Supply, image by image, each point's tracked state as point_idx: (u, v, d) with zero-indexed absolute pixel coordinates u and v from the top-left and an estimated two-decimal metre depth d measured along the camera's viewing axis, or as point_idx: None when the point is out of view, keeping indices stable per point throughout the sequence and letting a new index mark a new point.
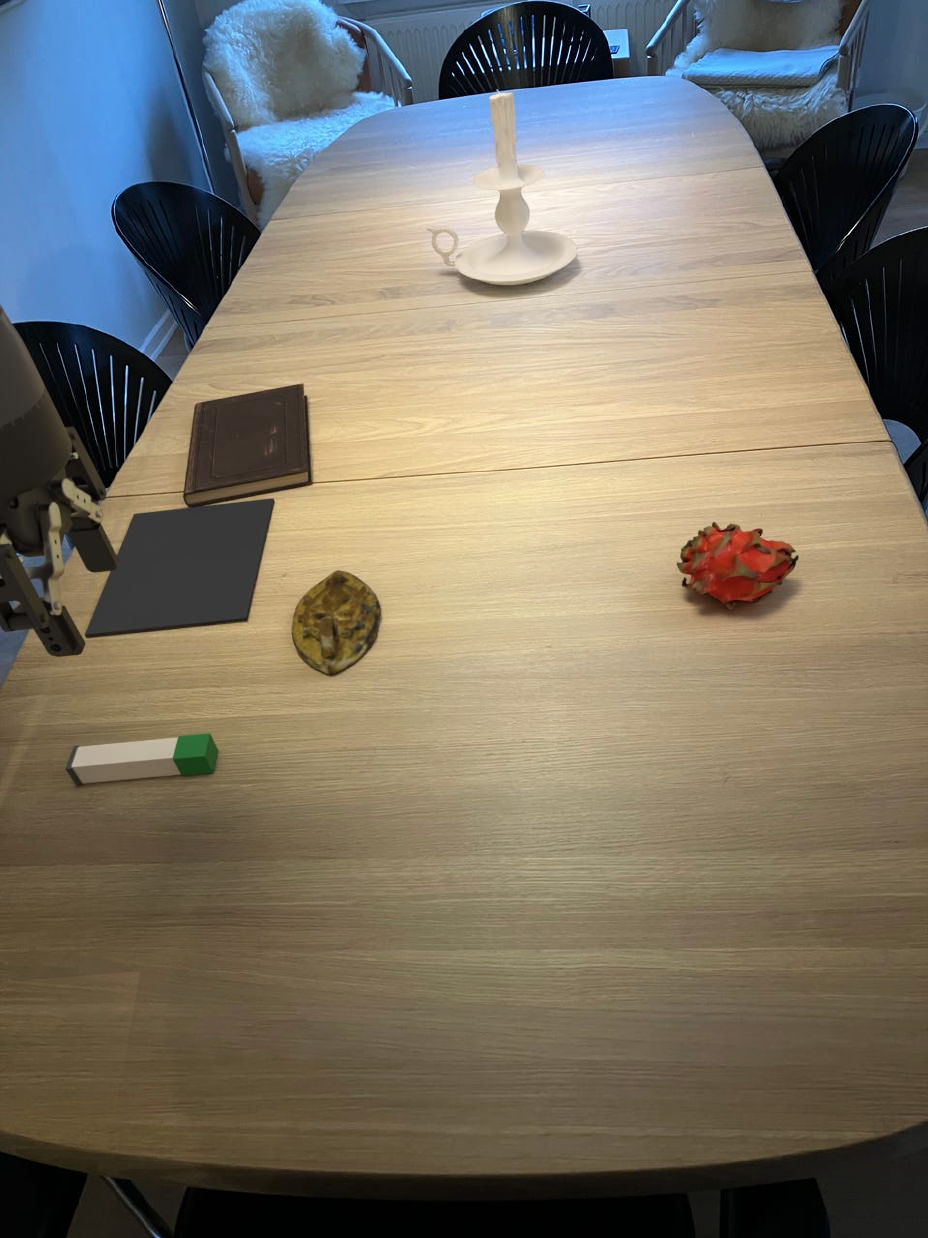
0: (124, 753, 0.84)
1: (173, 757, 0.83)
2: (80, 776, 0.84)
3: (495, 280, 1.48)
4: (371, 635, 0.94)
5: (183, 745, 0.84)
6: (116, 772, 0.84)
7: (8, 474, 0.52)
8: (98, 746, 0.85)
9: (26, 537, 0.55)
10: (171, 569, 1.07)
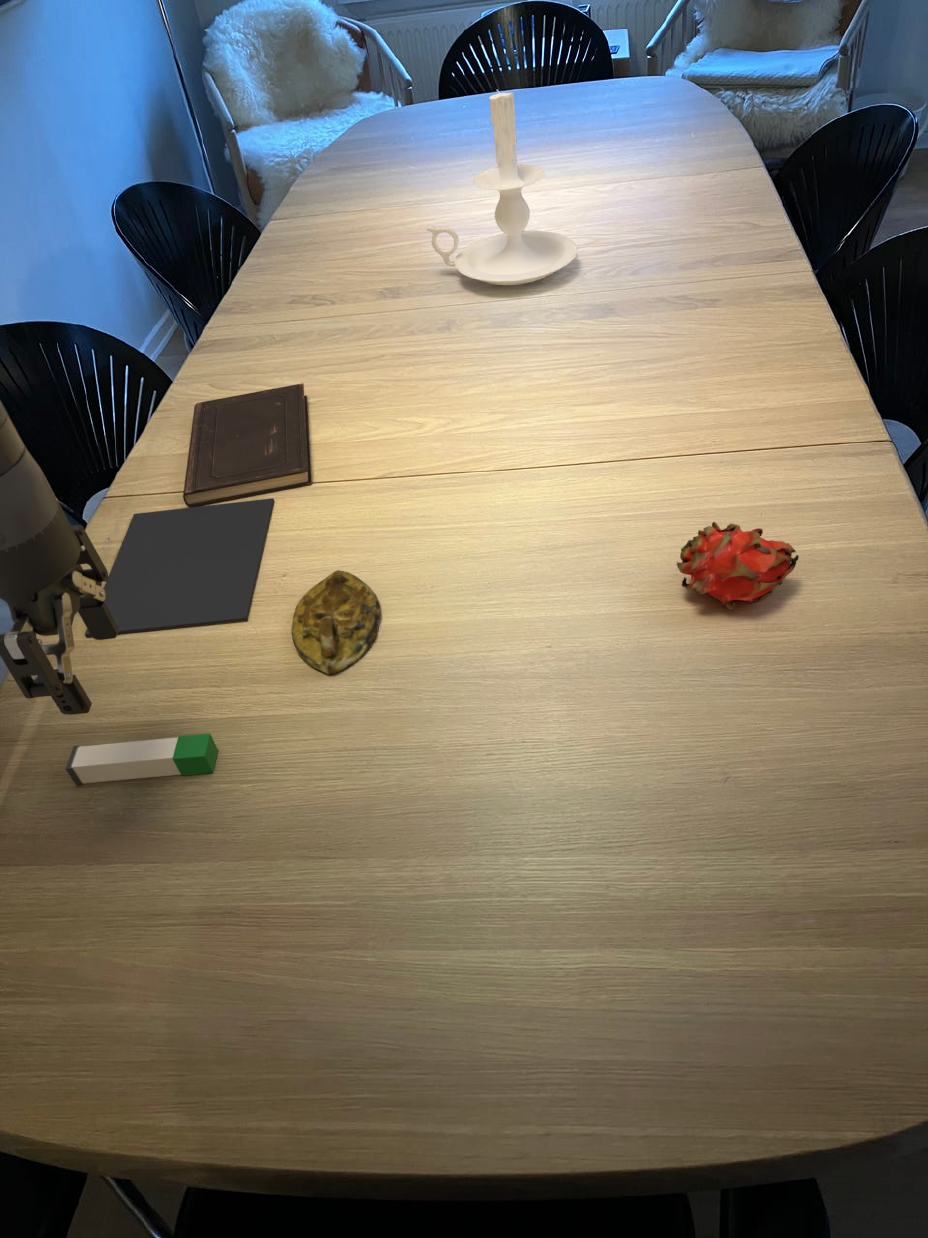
0: (124, 753, 0.84)
1: (173, 757, 0.83)
2: (80, 776, 0.84)
3: (495, 280, 1.48)
4: (371, 635, 0.94)
5: (183, 745, 0.84)
6: (116, 772, 0.84)
7: (30, 576, 0.65)
8: (98, 746, 0.85)
9: (44, 623, 0.68)
10: (171, 569, 1.07)
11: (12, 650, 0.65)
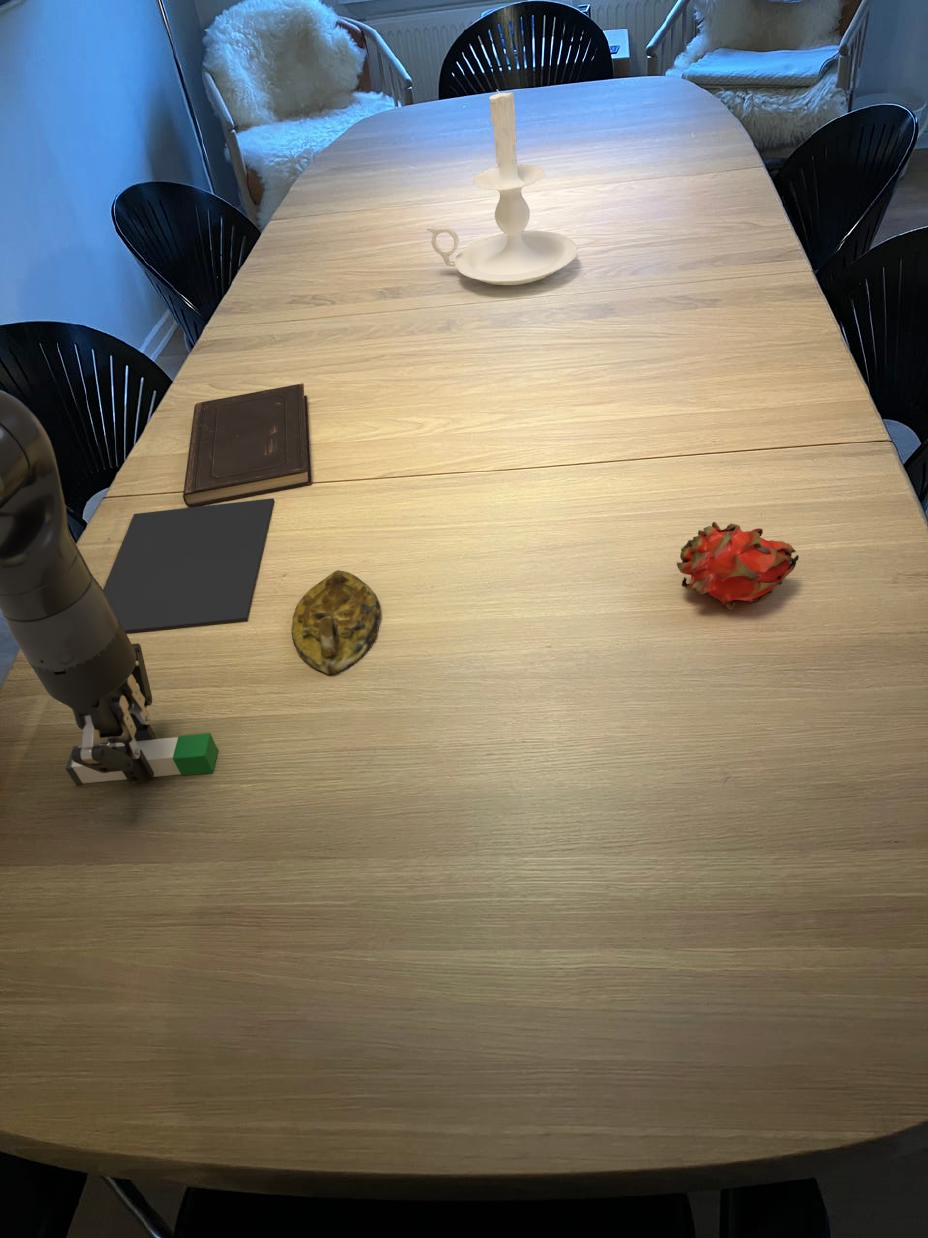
0: None
1: (173, 757, 0.83)
2: (80, 776, 0.84)
3: (495, 280, 1.48)
4: (371, 635, 0.94)
5: (183, 745, 0.84)
6: (116, 772, 0.84)
7: (94, 687, 0.73)
8: None
9: (104, 725, 0.76)
10: (171, 569, 1.07)
11: (89, 762, 0.75)
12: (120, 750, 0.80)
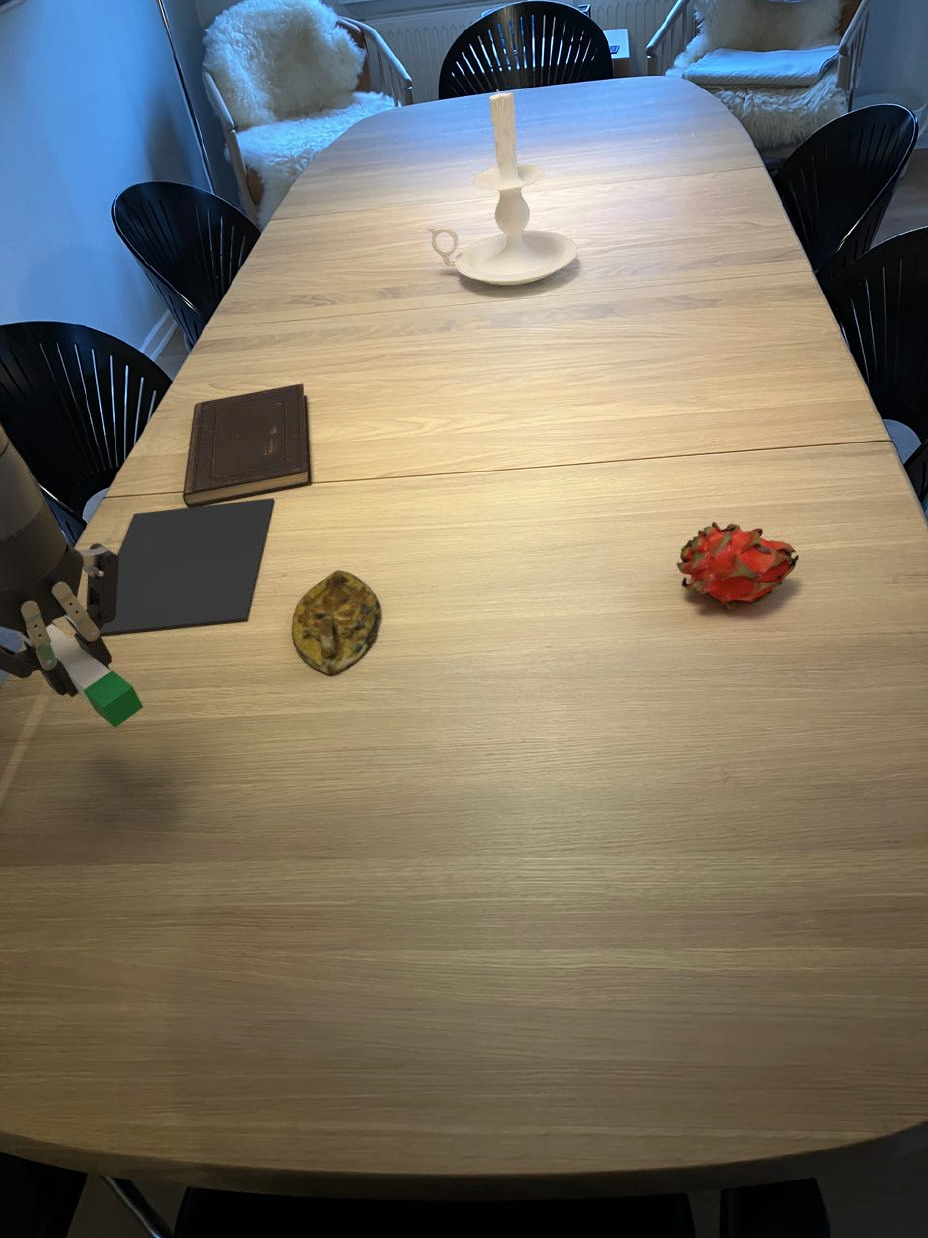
0: (65, 656, 0.75)
1: (85, 689, 0.72)
2: None
3: (495, 280, 1.48)
4: (371, 635, 0.94)
5: (104, 682, 0.72)
6: None
7: None
8: (61, 634, 0.77)
9: None
10: (171, 569, 1.07)
11: None
12: (34, 652, 0.71)
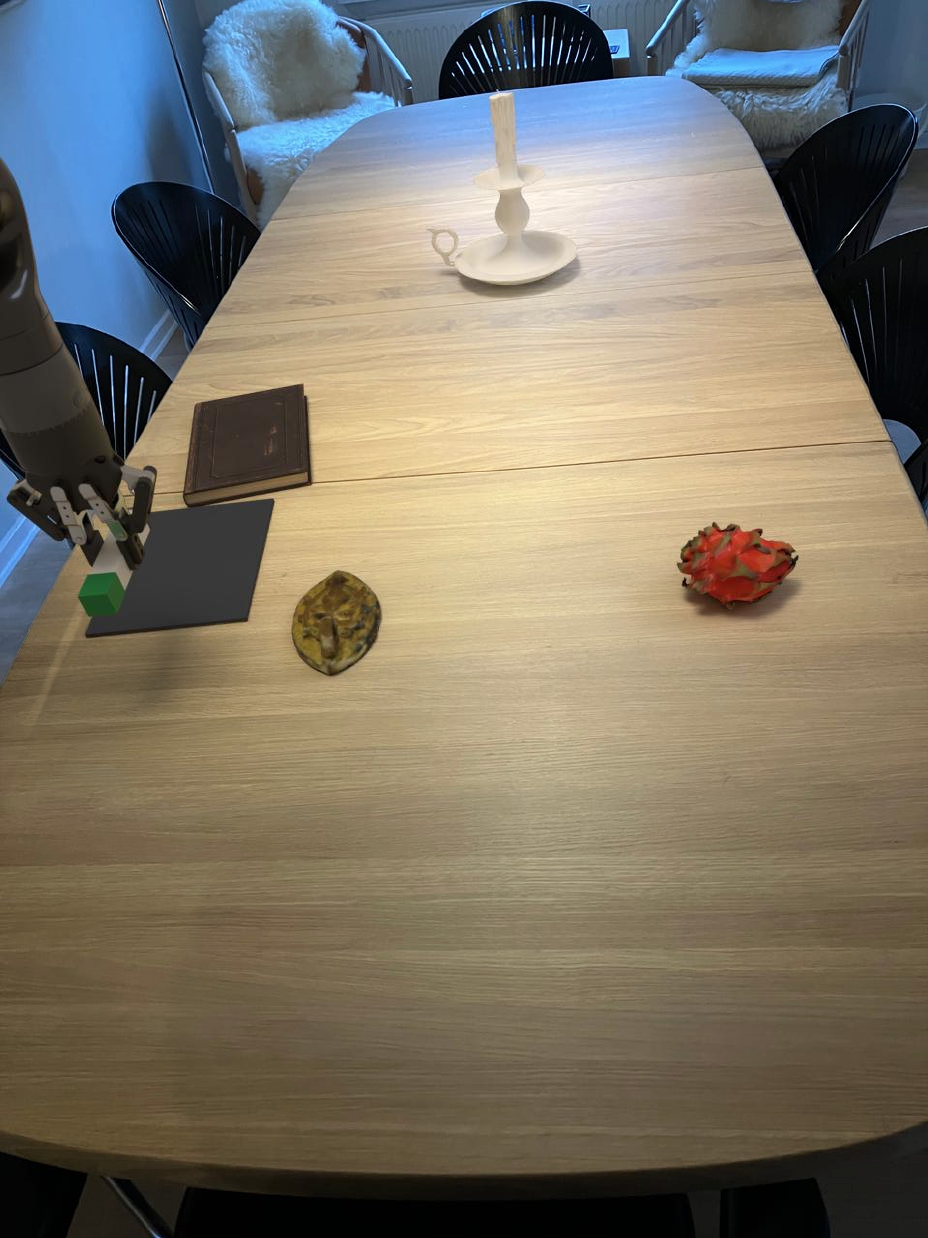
0: (114, 540, 0.86)
1: None
2: None
3: (495, 280, 1.48)
4: (371, 635, 0.94)
5: (100, 578, 0.82)
6: None
7: None
8: None
9: (33, 488, 0.80)
10: (171, 569, 1.07)
11: None
12: None
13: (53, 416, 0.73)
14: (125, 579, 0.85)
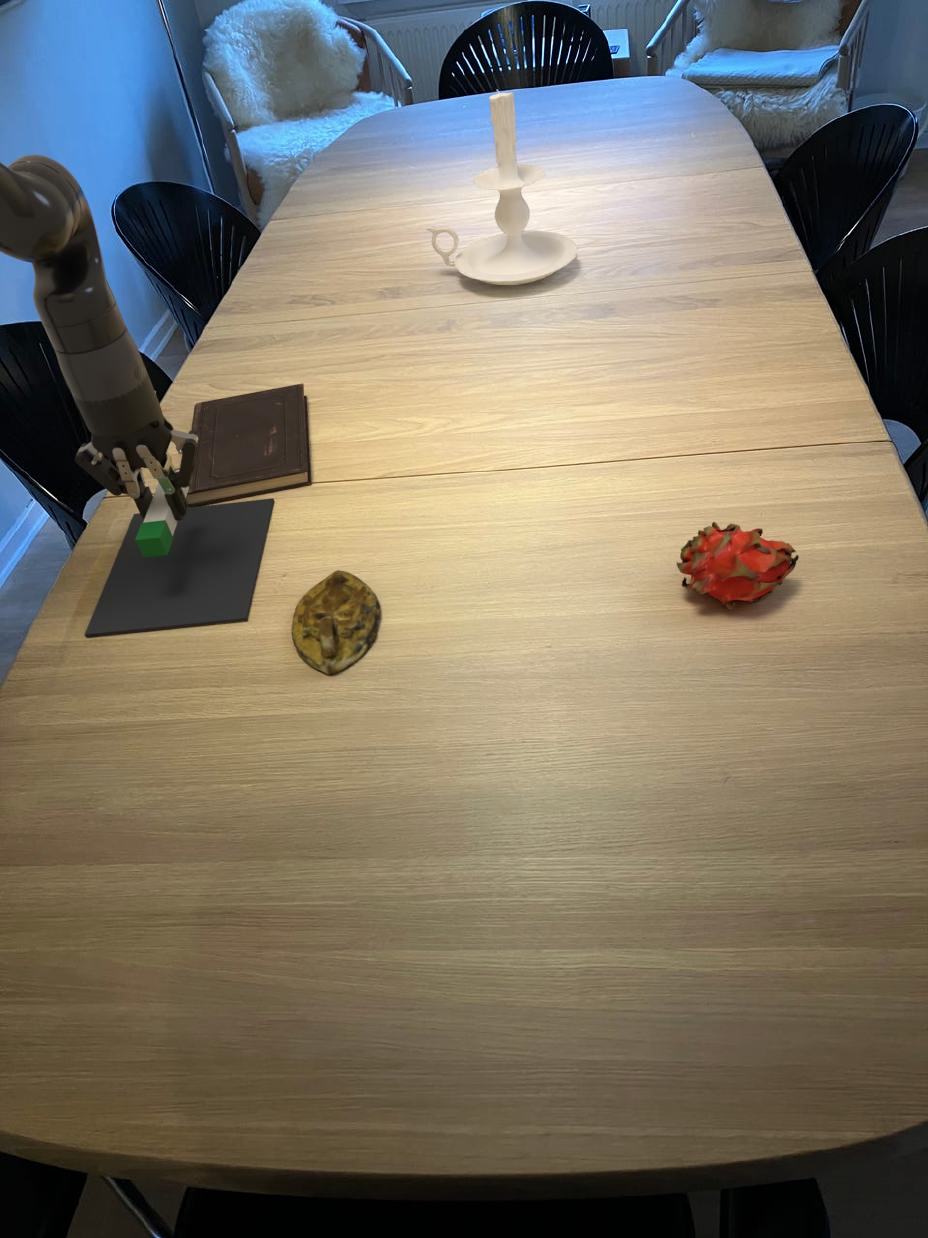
0: (161, 495, 1.03)
1: (143, 522, 0.99)
2: None
3: (495, 280, 1.48)
4: (371, 635, 0.94)
5: (153, 525, 0.99)
6: None
7: (83, 418, 0.93)
8: None
9: (97, 450, 0.96)
10: (171, 569, 1.07)
11: None
12: None
13: (119, 387, 0.89)
14: (172, 527, 1.01)
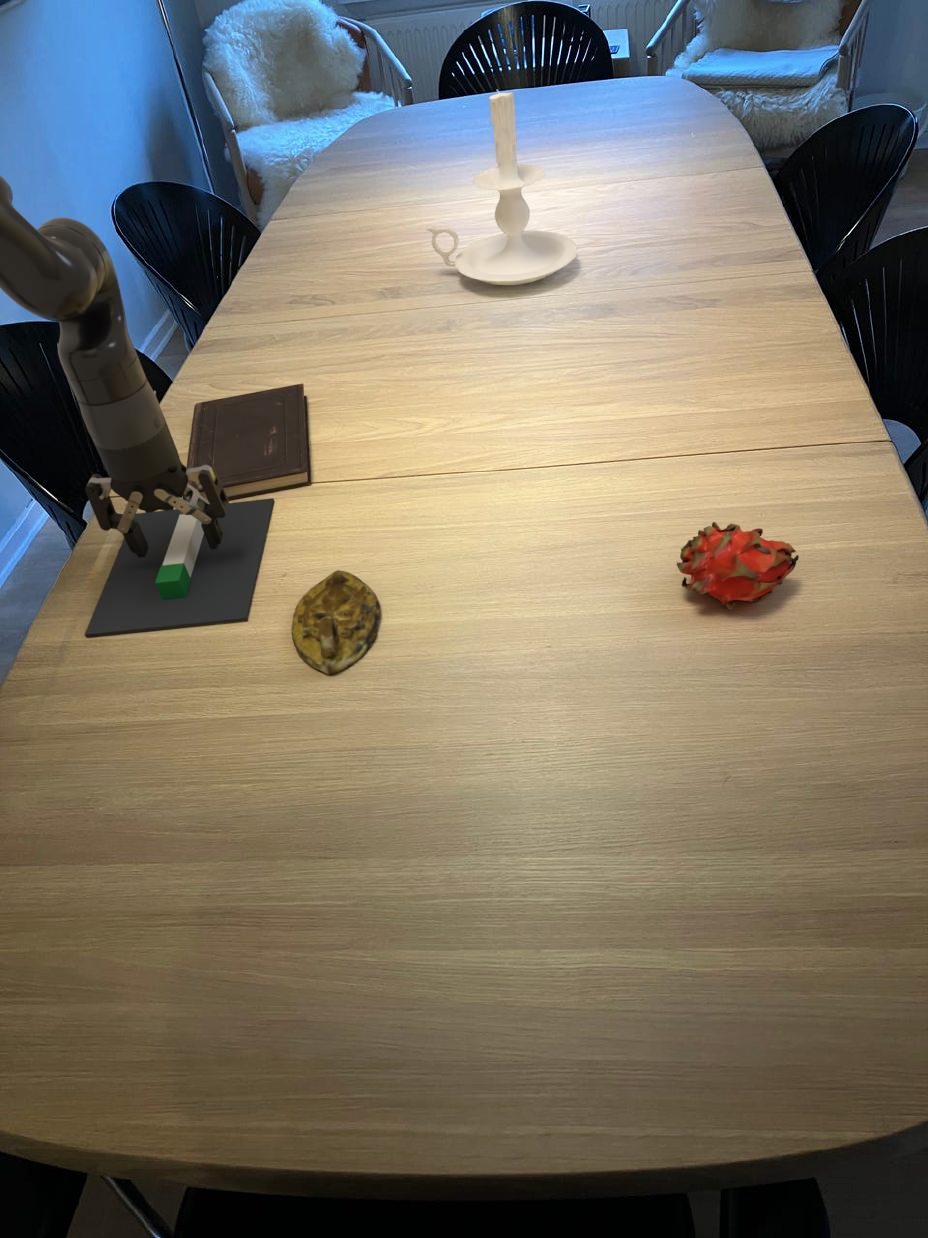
0: (179, 538, 1.07)
1: (162, 565, 1.03)
2: None
3: (495, 280, 1.48)
4: (371, 635, 0.94)
5: (172, 568, 1.03)
6: None
7: None
8: (193, 522, 1.09)
9: (116, 493, 0.99)
10: None
11: None
12: (120, 517, 1.03)
13: (139, 436, 0.92)
14: (190, 569, 1.05)
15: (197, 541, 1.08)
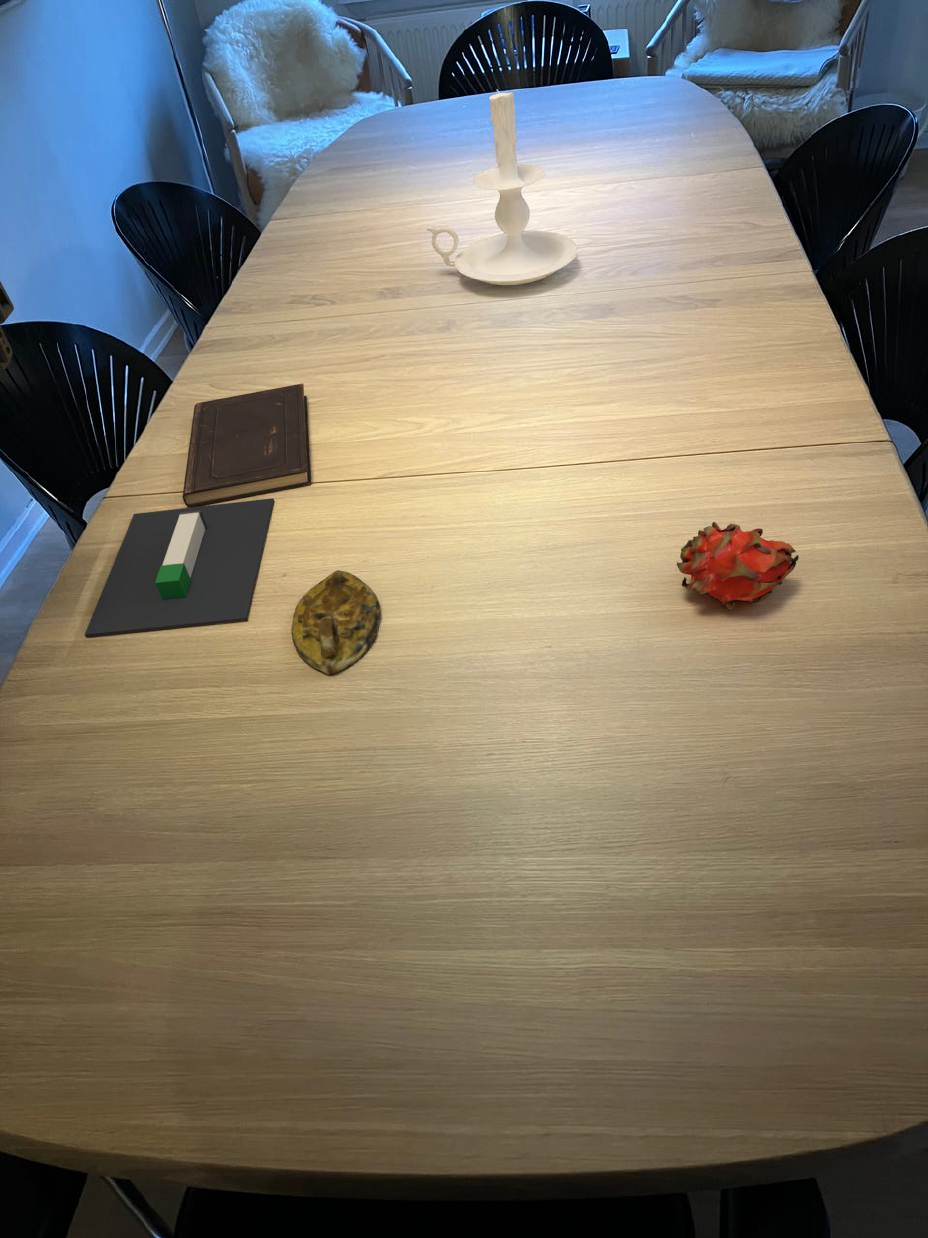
0: (179, 538, 1.07)
1: (162, 565, 1.03)
2: None
3: (495, 280, 1.48)
4: (371, 635, 0.94)
5: (172, 568, 1.03)
6: None
7: None
8: (193, 522, 1.09)
9: None
10: None
11: None
12: None
13: None
14: (190, 569, 1.05)
15: (197, 541, 1.08)
